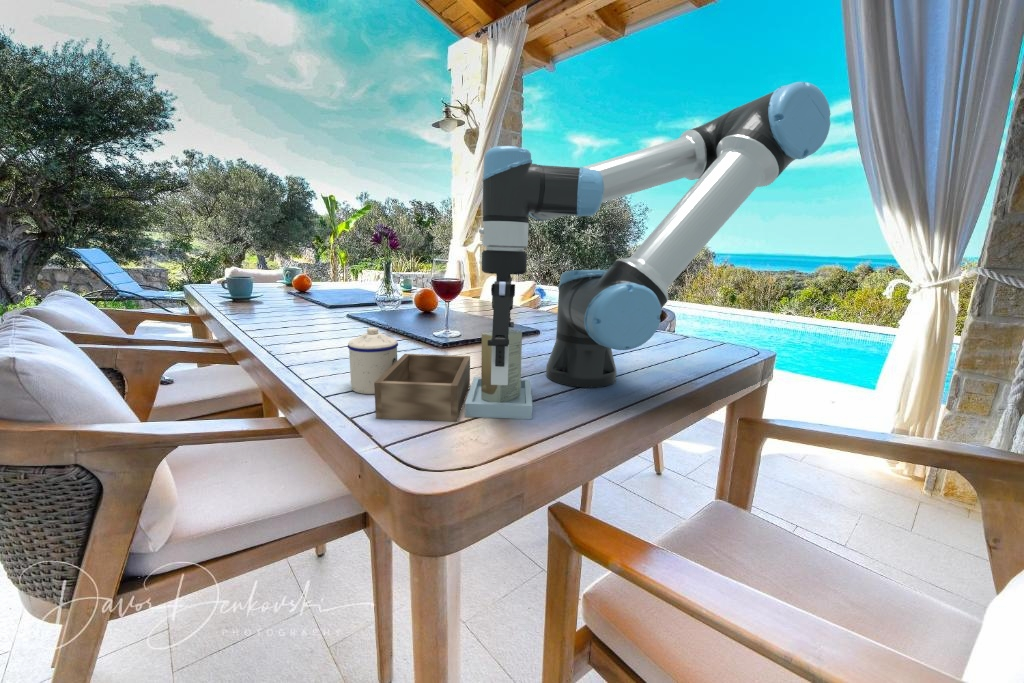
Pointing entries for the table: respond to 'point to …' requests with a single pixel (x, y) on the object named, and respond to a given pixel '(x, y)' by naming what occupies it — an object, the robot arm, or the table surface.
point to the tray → (510, 409)
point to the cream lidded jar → (370, 359)
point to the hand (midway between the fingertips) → (501, 372)
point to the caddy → (423, 388)
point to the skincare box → (514, 370)
